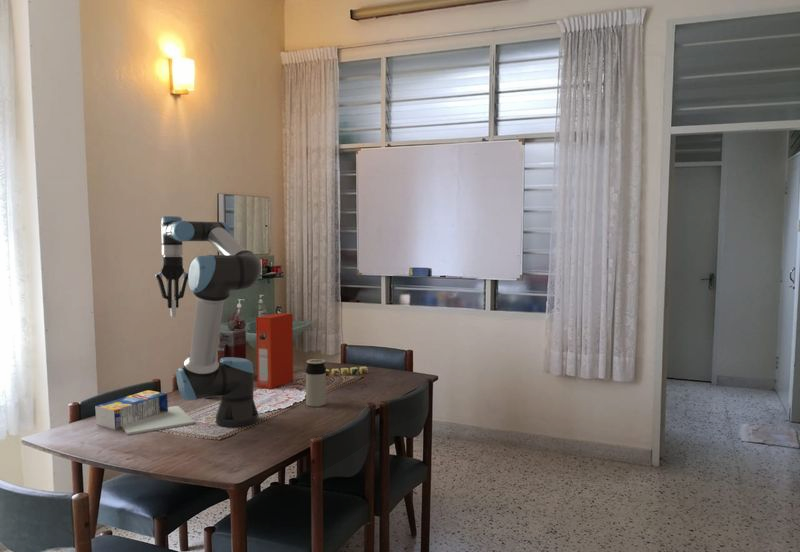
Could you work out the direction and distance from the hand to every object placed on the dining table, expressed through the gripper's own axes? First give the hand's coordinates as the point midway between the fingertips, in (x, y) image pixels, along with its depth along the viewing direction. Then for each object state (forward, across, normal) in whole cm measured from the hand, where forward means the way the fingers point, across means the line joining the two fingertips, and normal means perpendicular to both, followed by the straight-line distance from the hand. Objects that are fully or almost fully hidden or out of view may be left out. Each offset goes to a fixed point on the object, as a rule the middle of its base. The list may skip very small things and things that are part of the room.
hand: (173, 316), depth 230 cm
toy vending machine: (+37, -34, -34) cm, 60 cm away
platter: (+37, -85, -12) cm, 94 cm away
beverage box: (+33, +27, +12) cm, 44 cm away
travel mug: (+37, -49, +26) cm, 66 cm away
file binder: (+37, -48, -14) cm, 62 cm away
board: (+36, +10, +13) cm, 40 cm away
